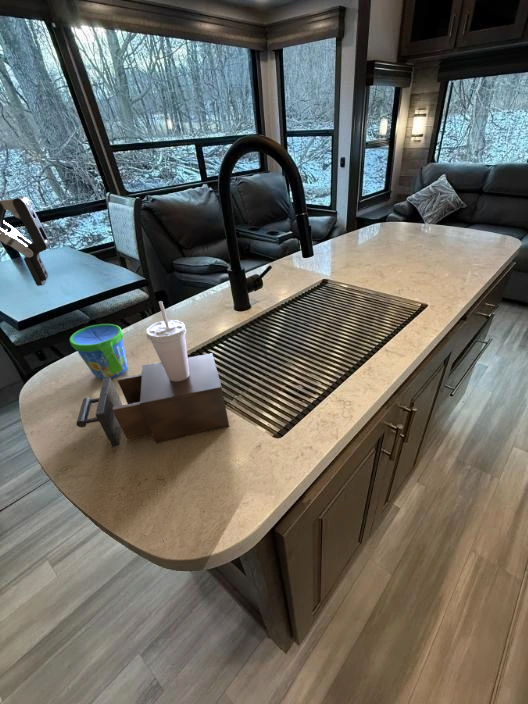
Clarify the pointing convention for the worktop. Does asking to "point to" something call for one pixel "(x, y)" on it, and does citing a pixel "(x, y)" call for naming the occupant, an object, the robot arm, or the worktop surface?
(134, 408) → the drawer
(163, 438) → the cabinet
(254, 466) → the worktop surface
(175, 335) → the smoothie
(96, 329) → the snack cup
